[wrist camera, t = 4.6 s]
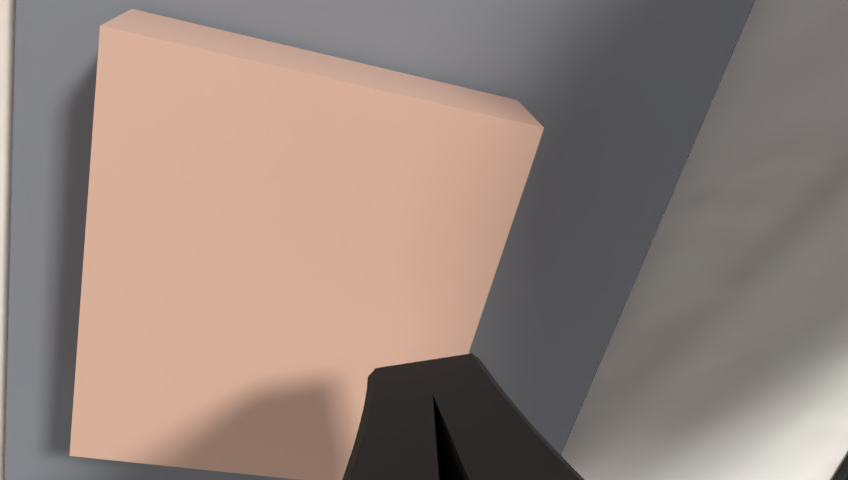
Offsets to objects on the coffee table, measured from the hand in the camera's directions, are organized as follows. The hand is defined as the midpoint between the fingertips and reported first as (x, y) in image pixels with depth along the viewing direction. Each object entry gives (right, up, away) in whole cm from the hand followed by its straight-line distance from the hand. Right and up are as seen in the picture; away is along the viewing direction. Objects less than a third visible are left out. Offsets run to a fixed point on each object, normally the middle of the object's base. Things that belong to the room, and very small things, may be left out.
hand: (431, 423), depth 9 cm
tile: (+1, +1, +3) cm, 3 cm away
